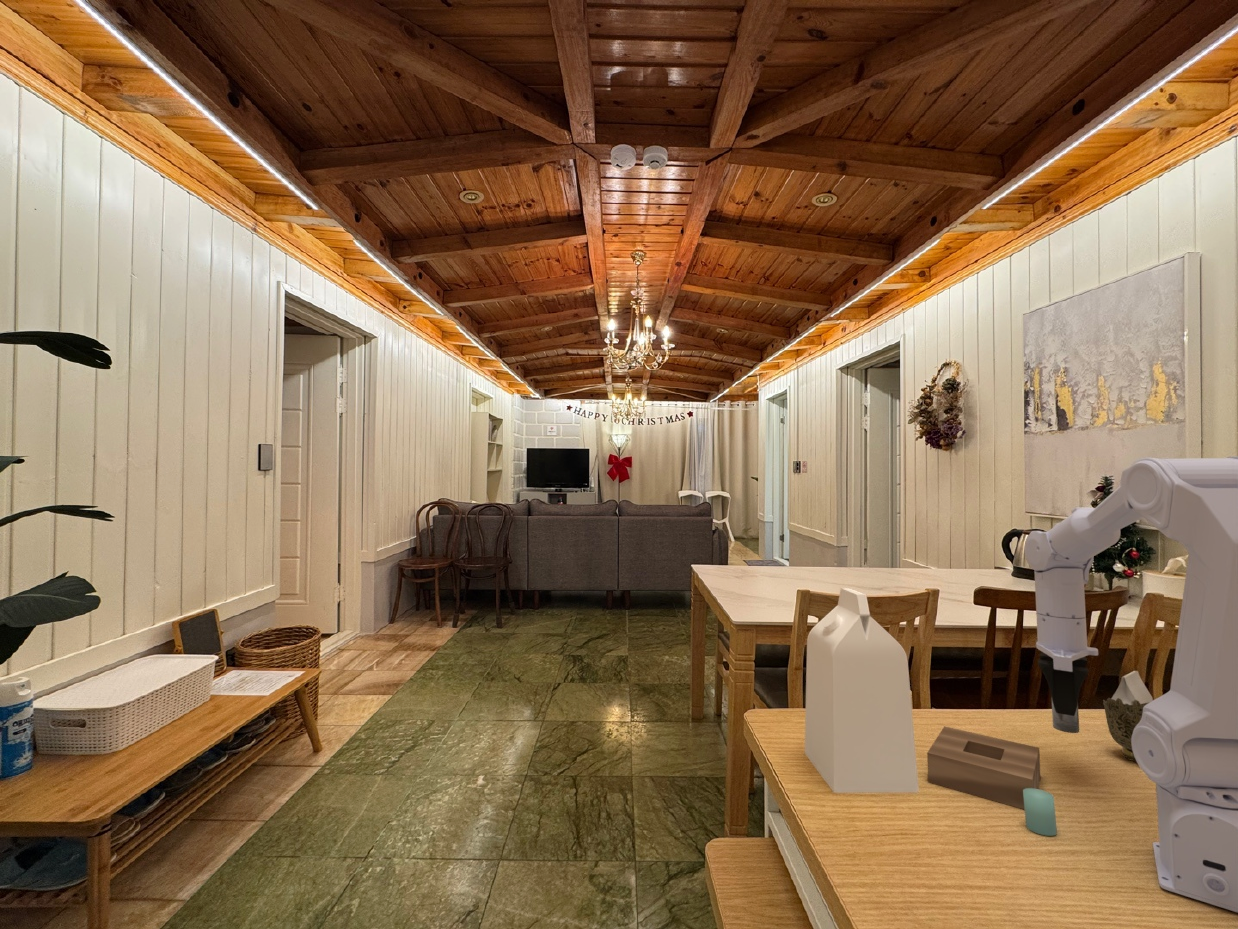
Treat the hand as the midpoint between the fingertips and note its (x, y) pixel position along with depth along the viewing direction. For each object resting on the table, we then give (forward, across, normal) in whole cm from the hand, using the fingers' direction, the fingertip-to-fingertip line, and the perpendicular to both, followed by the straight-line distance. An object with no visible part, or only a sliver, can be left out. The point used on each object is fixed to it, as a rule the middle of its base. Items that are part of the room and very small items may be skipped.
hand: (1065, 710), depth 82 cm
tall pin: (+3, 0, 0) cm, 3 cm away
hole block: (+9, -9, +9) cm, 16 cm away
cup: (+9, +13, -8) cm, 18 cm away
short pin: (+9, -19, +3) cm, 21 cm away
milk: (+9, -17, +24) cm, 31 cm away
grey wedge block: (+9, +25, -9) cm, 28 cm away
